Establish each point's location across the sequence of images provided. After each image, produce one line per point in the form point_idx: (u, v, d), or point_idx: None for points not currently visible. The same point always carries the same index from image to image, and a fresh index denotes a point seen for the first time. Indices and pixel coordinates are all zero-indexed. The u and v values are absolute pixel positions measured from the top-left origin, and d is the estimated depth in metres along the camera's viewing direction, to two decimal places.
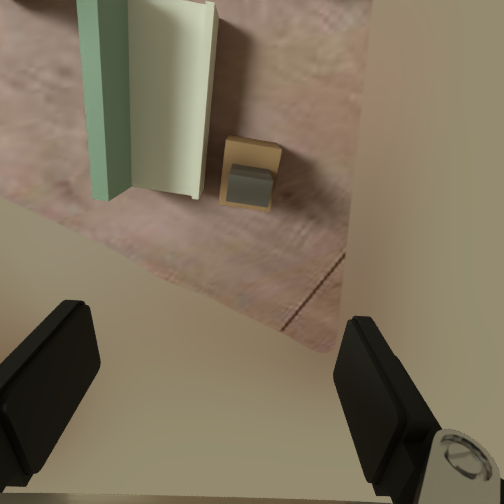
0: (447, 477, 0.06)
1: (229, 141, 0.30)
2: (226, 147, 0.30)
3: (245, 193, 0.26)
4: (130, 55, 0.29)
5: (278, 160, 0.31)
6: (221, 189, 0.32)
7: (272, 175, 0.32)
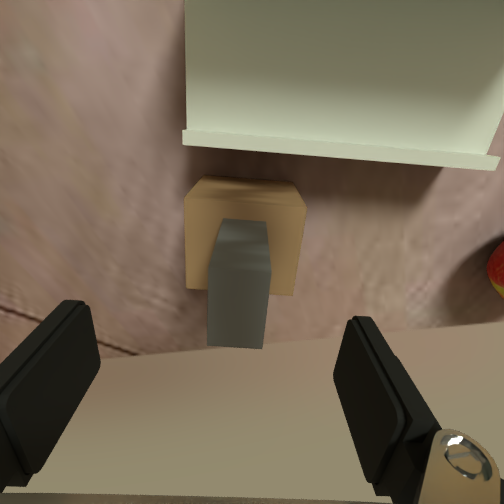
0: (447, 477, 0.06)
1: (304, 214, 0.17)
2: (293, 209, 0.16)
3: (232, 305, 0.12)
4: None
5: (275, 292, 0.19)
6: (214, 203, 0.16)
7: None
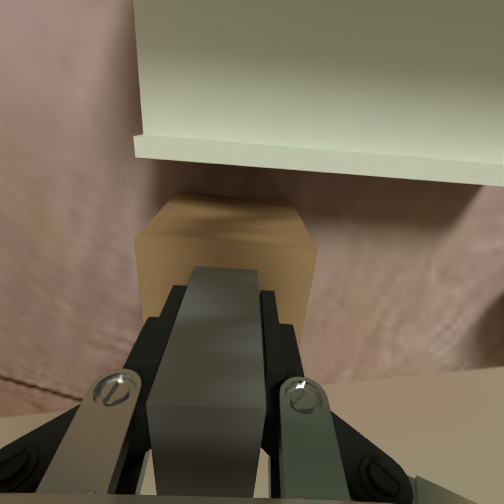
0: (297, 424, 0.06)
1: (313, 260, 0.11)
2: (298, 253, 0.11)
3: (196, 455, 0.07)
4: None
5: None
6: (180, 245, 0.11)
7: None
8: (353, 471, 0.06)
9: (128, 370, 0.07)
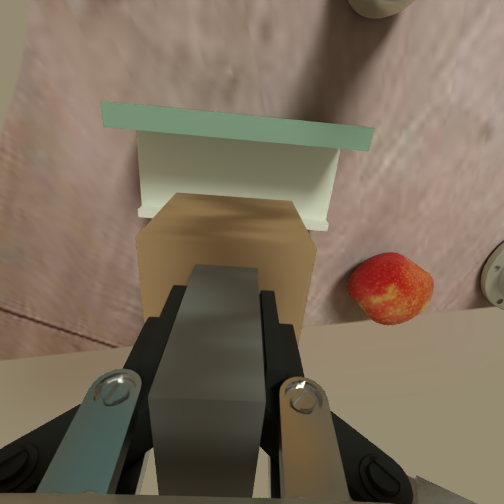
0: (296, 424, 0.06)
1: (312, 258, 0.11)
2: (297, 251, 0.11)
3: (197, 448, 0.07)
4: None
5: None
6: (181, 243, 0.11)
7: None
8: (353, 471, 0.06)
9: (128, 370, 0.07)
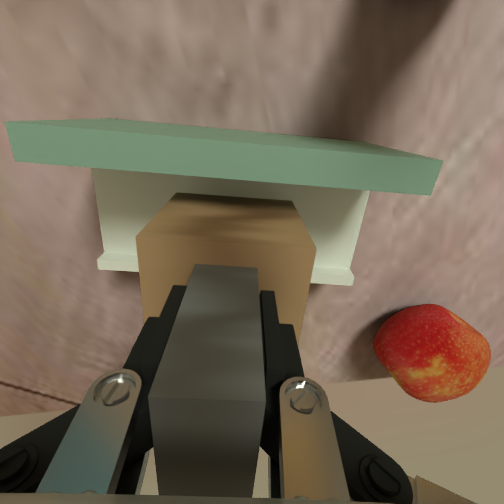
0: (296, 424, 0.06)
1: (312, 257, 0.11)
2: (297, 251, 0.11)
3: (197, 448, 0.07)
4: None
5: None
6: (181, 243, 0.11)
7: None
8: (353, 471, 0.06)
9: (128, 370, 0.07)
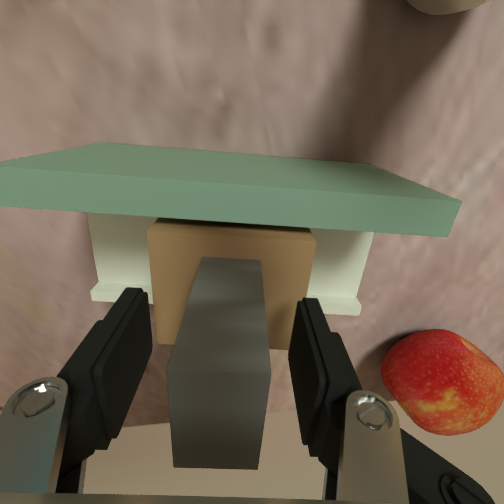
0: (361, 436, 0.06)
1: (312, 250, 0.12)
2: (298, 244, 0.12)
3: (209, 418, 0.08)
4: None
5: (273, 347, 0.14)
6: (189, 237, 0.12)
7: None
8: (434, 491, 0.06)
9: (56, 378, 0.07)
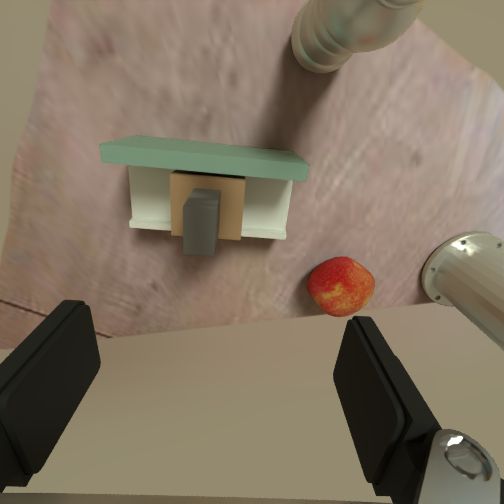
0: (447, 477, 0.06)
1: (244, 185, 0.27)
2: (237, 182, 0.27)
3: (196, 229, 0.22)
4: None
5: (229, 238, 0.29)
6: (188, 178, 0.27)
7: None
8: None
9: None
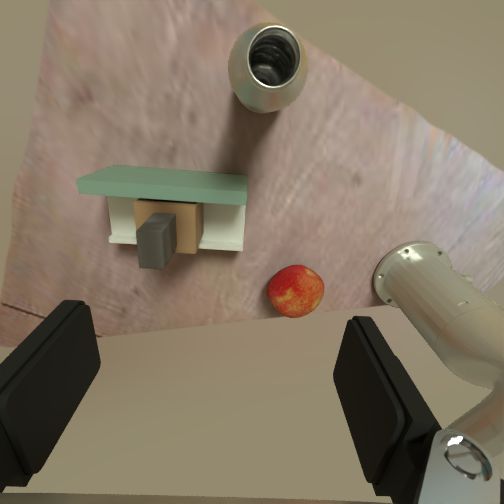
0: (447, 477, 0.06)
1: (194, 210, 0.33)
2: (188, 207, 0.33)
3: (147, 248, 0.28)
4: None
5: (186, 252, 0.35)
6: (148, 204, 0.33)
7: None
8: None
9: None
